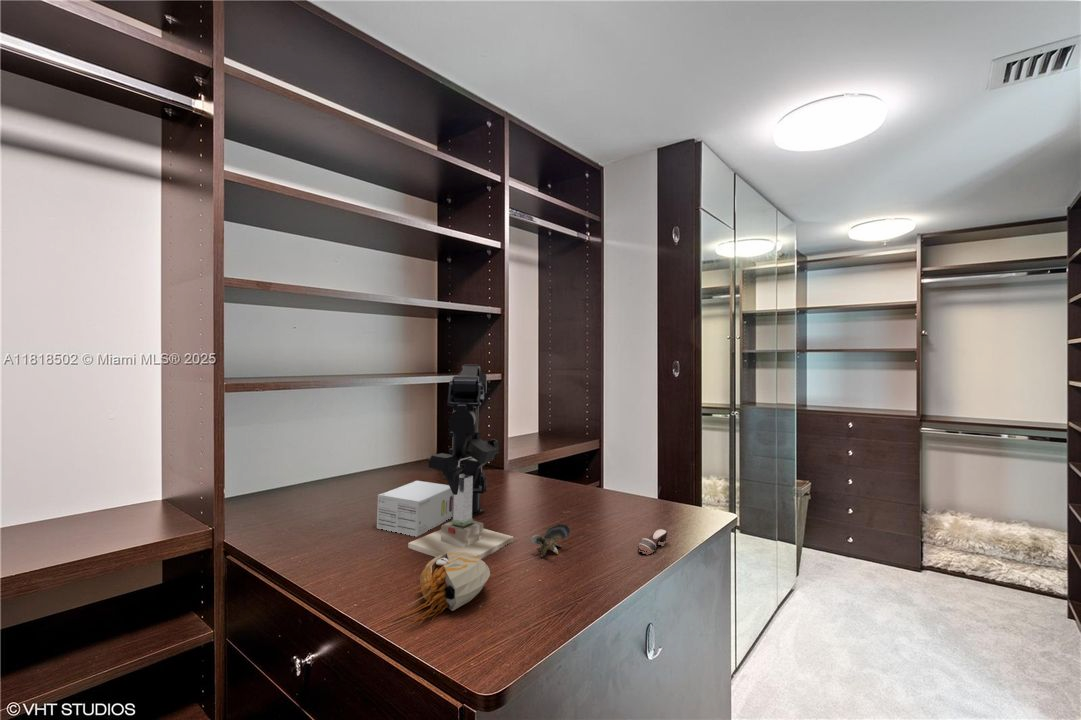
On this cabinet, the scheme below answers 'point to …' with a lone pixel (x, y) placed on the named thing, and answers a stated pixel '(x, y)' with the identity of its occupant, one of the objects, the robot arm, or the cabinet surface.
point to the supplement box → (414, 508)
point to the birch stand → (461, 540)
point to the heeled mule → (654, 539)
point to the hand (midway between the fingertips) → (463, 491)
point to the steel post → (463, 502)
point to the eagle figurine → (551, 538)
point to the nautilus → (451, 581)
